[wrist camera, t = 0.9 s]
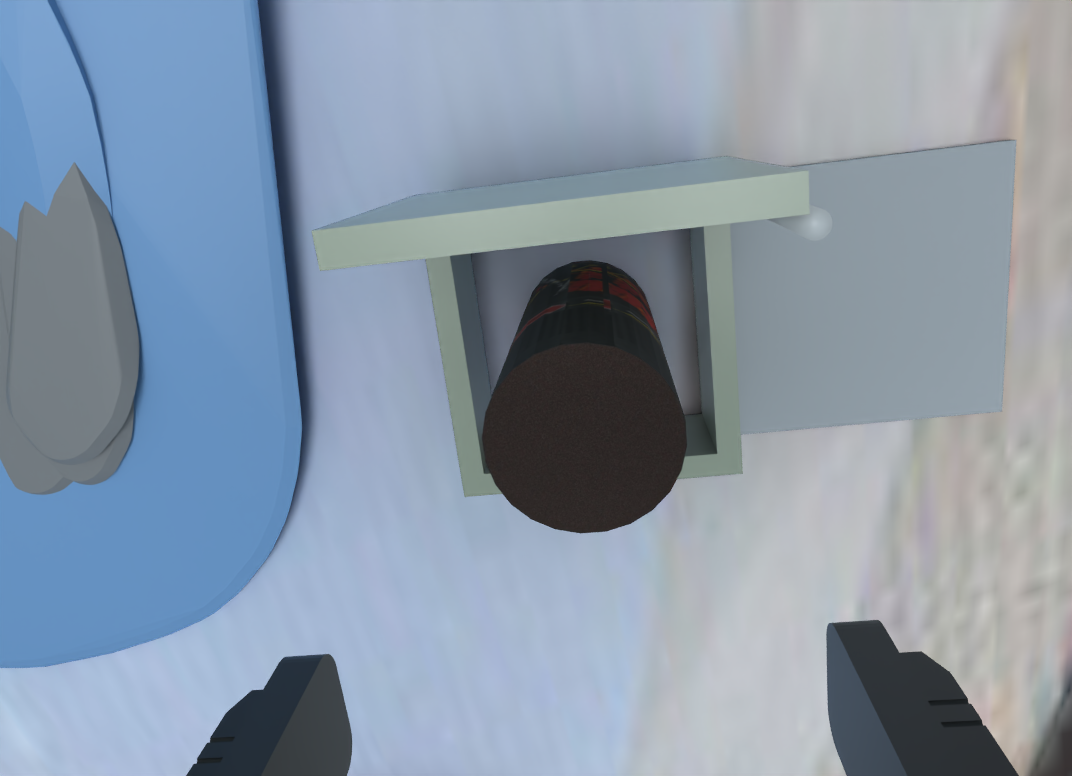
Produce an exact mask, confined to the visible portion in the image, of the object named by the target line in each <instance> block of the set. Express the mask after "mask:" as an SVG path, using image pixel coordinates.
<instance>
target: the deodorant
mask: <svg viewBox="0 0 1072 776" xmlns="http://www.w3.org/2000/svg"><path fill="white" fill-rule="evenodd" d="M482 442H483V449H484V456H485V462H486V465H487V467H488V469H489V471H490V474H491V476H492V478H493V480H494V483H495V485H496V486H497V487H498V489H499V490H500V491H501V492H502V494H503V495H504V496H505V497H506V499H507V500H508V501H509V502H510V503H511V505H513V506H514V507H516V508H517V509H518V510H520V511H521V512H522V513H524V514H525V515H526V516H528V517H529V518H530V519H532V520H534V521H537V522H539V523H542V524H544V525H546V526H549V527H551V528H554V529H558V530H564V531H570V532H576V533H591V532H605V531H609V530H612V529H615V528H618V527H621V526H625V525H628V524H631V523H632V522H634V521H636V520H637V519H639V518H640V517H642V516H644V515H645V514H647V513H649V512H650V511H652V510H653V509H654V508H655V507H656V506H657V505H658V504H659V503H660V502H661V501H662V500H663V499H664V498H665V497H666V495H667V494H668V493H669V492H670V491H671V489H672V487H673V485H674V483H675V482H676V480H677V478H678V476H679V474H680V472H681V471H682V467H683V462H684V458H685V453H686V449H687V434H686V420H685V417H684V414H683V411H682V408H681V404H680V401H679V398H678V395H677V392H676V389H675V386H674V383H673V379H672V376H671V373H670V370H669V367H668V364H667V361H666V358H665V354H664V351H663V348H662V345H661V342H660V339H659V336H658V333H657V329H656V326H655V323H654V320H653V317H652V314H651V311H650V308H649V305H648V302H647V299H646V297H645V294H644V293H643V291H642V290H641V288H640V287H639V286H638V284H637V283H636V281H635V280H634V279H632V278H631V277H630V276H629V275H627V274H626V273H625V272H624V271H623V270H621V269H618V268H616V267H614V266H612V265H610V264H607V263H603V262H596V261H580V262H572V263H570V264H567V265H565V266H562V267H559V268H557V269H556V270H554V271H553V272H551V273H550V274H549V275H547V276H546V277H545V278H543V280H542V281H541V282H540V283H539V285H538V286H537V287H536V288H535V290H534V291H533V293H532V295H531V297H530V300H529V302H528V304H527V307H526V309H525V312H524V314H523V317H522V319H521V322H520V325H519V327H518V330H517V332H516V335H515V338H514V340H513V343H512V345H511V348H510V350H509V353H508V356H507V358H506V361H505V363H504V366H503V369H502V371H501V374H500V376H499V379H498V381H497V384H496V387H495V389H494V392H493V394H492V397H491V399H490V402H489V405H488V407H487V410H486V412H485V418H484V426H483V433H482Z"/></svg>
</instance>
